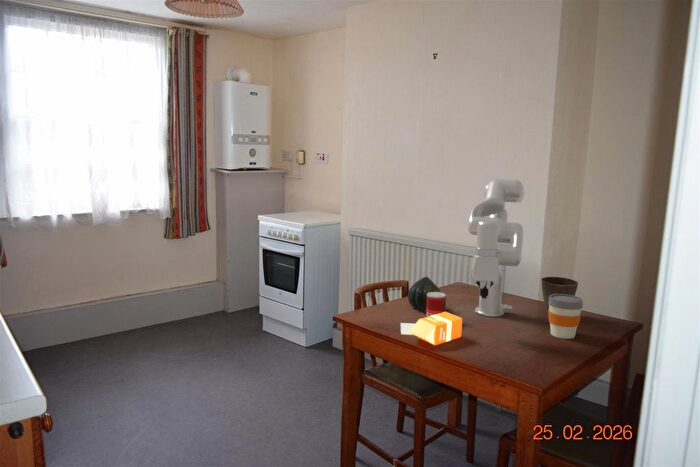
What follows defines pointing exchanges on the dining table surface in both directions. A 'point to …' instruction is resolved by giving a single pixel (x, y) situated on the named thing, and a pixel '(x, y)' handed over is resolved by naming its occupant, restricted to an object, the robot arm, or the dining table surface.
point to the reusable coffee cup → (564, 315)
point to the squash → (421, 292)
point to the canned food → (435, 303)
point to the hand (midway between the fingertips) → (483, 297)
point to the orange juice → (438, 328)
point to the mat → (406, 328)
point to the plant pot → (557, 288)
